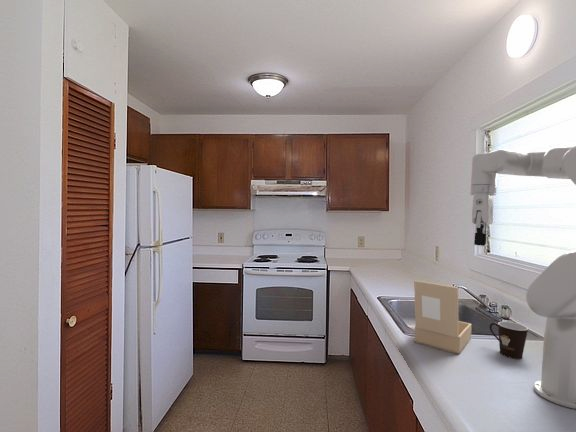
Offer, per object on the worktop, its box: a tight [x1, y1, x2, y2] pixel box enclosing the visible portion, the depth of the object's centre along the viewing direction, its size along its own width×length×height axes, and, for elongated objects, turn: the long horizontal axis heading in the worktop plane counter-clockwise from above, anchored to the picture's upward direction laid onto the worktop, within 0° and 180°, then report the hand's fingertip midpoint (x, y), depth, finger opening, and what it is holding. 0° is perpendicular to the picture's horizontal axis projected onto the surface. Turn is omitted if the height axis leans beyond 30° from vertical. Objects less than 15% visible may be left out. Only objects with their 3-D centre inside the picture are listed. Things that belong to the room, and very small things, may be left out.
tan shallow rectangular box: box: [413, 320, 472, 355], centre depth 129 cm, size 15×18×6 cm
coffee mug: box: [489, 321, 529, 360], centre depth 120 cm, size 12×9×10 cm
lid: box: [413, 279, 459, 338], centre depth 119 cm, size 14×18×1 cm
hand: (480, 245), depth 117 cm, fingers closed
